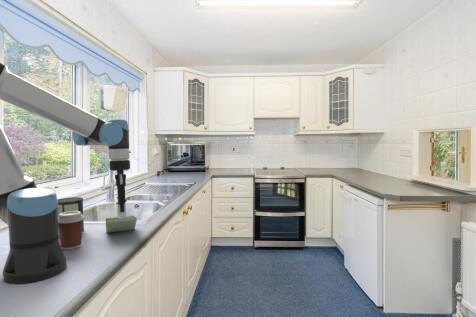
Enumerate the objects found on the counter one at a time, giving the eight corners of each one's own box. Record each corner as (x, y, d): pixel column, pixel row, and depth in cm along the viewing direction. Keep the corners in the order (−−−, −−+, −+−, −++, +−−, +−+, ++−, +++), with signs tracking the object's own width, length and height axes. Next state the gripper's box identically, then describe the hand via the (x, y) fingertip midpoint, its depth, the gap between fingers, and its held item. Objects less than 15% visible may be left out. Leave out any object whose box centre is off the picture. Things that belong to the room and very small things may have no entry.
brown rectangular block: (134, 229, 128) (134, 215, 127) (106, 232, 123) (105, 218, 123) (134, 228, 129) (133, 214, 129) (106, 231, 125) (105, 217, 125)
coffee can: (73, 228, 129) (71, 196, 128) (89, 231, 125) (88, 198, 124) (49, 235, 120) (47, 200, 119) (66, 239, 116) (65, 202, 115)
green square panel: (134, 229, 127) (136, 219, 117) (106, 232, 122) (105, 223, 113) (134, 226, 127) (136, 216, 118) (106, 229, 123) (105, 219, 113)
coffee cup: (67, 252, 102) (65, 217, 101) (50, 248, 106) (49, 214, 105) (91, 244, 110) (90, 211, 109) (75, 240, 114) (73, 209, 113)
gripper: (131, 160, 112) (133, 222, 114) (128, 158, 125) (131, 214, 126) (109, 161, 109) (112, 225, 111) (108, 159, 122) (111, 216, 123)
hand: (122, 219), depth 119 cm, fingers closed
